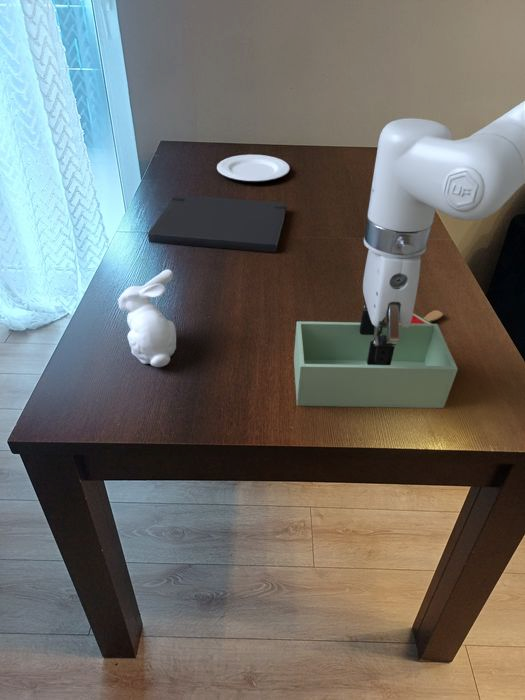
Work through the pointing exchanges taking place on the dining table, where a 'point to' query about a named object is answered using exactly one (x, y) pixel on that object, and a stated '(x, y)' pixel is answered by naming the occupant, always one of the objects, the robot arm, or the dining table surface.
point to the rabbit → (149, 322)
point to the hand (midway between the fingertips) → (374, 347)
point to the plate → (253, 168)
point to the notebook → (220, 223)
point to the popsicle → (429, 317)
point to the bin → (371, 367)
